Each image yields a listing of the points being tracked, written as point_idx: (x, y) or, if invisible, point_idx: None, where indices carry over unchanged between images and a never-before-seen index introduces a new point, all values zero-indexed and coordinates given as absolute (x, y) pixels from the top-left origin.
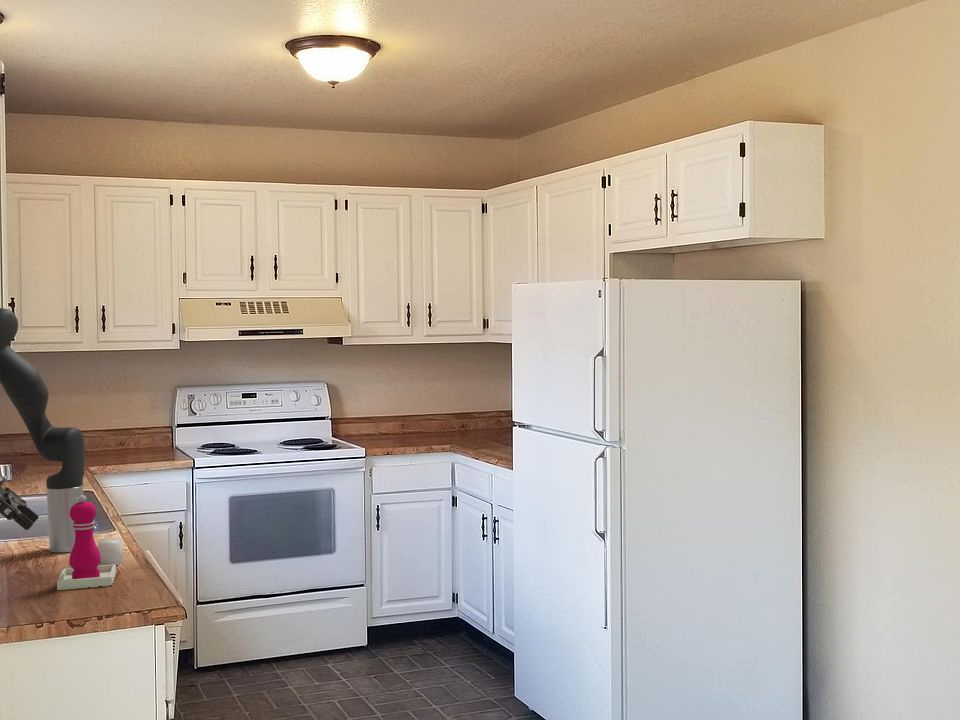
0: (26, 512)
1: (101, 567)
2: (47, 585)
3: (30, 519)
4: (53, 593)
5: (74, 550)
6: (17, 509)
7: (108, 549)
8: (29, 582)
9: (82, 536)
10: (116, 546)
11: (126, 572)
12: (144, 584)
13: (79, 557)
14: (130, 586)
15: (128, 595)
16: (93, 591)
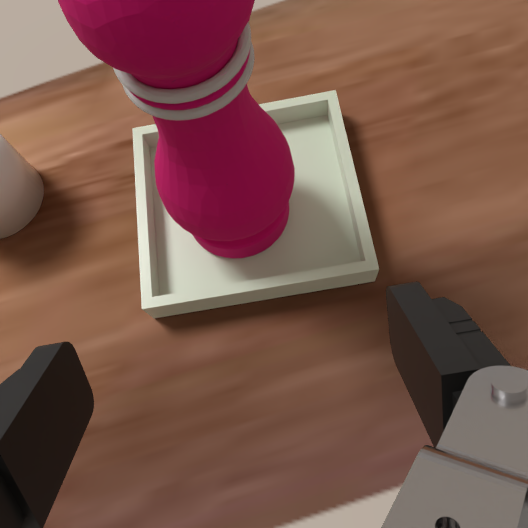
0: (36, 453)
1: (147, 174)
2: (282, 347)
3: (76, 416)
4: (421, 282)
5: (261, 173)
6: (506, 416)
7: (2, 156)
8: (209, 447)
9: (246, 90)
10: None
11: (148, 117)
12: (333, 25)
13: (288, 163)
14: (353, 56)
15: (474, 32)
16: (407, 148)
